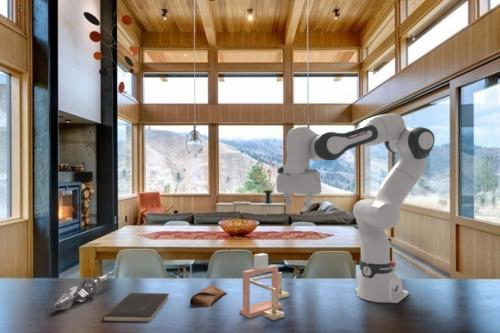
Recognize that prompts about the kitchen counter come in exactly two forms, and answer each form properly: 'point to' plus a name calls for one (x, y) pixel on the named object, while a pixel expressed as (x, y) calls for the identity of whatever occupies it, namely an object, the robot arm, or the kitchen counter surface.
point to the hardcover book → (137, 307)
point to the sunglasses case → (207, 296)
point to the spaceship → (81, 291)
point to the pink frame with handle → (259, 268)
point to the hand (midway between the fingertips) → (297, 205)
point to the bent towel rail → (273, 312)
